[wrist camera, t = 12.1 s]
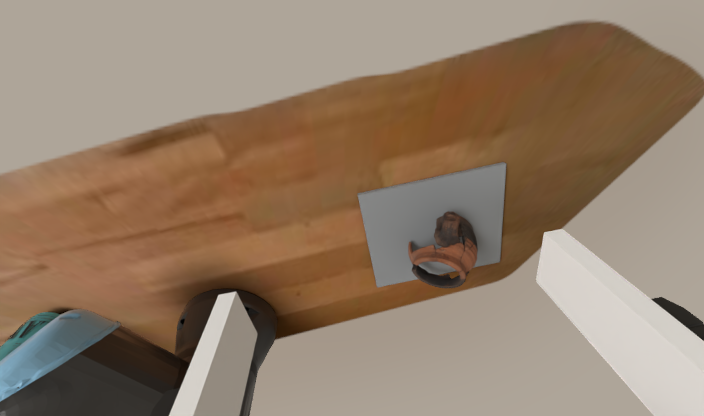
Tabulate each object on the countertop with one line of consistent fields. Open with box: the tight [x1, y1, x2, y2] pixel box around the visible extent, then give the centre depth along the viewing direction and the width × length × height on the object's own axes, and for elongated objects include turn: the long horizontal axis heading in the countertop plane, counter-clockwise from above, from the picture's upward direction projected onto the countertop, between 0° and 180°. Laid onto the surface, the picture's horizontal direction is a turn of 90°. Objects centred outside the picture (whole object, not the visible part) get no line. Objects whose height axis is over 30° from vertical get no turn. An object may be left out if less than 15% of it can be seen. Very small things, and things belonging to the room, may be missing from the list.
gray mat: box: [358, 162, 506, 287], centre depth 44 cm, size 20×17×1 cm
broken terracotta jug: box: [408, 211, 478, 288], centre depth 42 cm, size 12×9×8 cm
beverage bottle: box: [0, 312, 61, 361], centre depth 38 cm, size 6×7×20 cm
